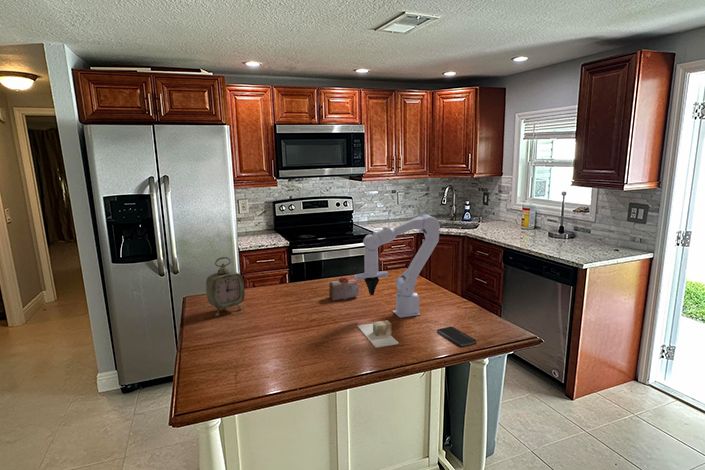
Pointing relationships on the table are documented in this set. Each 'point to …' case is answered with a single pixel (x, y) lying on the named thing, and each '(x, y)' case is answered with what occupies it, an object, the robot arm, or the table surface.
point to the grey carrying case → (343, 289)
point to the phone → (456, 336)
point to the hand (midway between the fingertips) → (371, 294)
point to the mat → (377, 337)
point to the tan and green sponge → (382, 328)
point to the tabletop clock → (225, 288)
